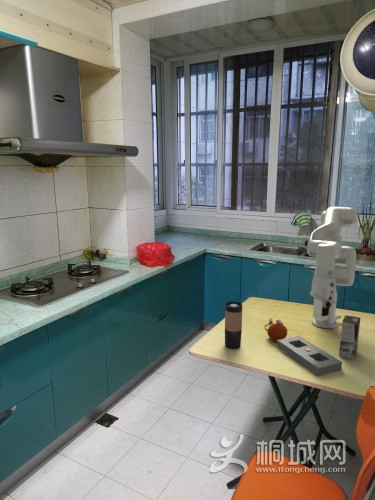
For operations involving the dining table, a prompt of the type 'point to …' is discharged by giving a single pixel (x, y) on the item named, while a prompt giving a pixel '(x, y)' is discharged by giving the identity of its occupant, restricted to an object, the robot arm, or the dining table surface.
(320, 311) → the plug
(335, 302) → the robot arm
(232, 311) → the travel mug
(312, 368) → the socket block
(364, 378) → the dining table surface
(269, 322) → the extension cord
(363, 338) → the dining table surface
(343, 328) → the coffee box
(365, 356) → the dining table surface
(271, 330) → the fruit
